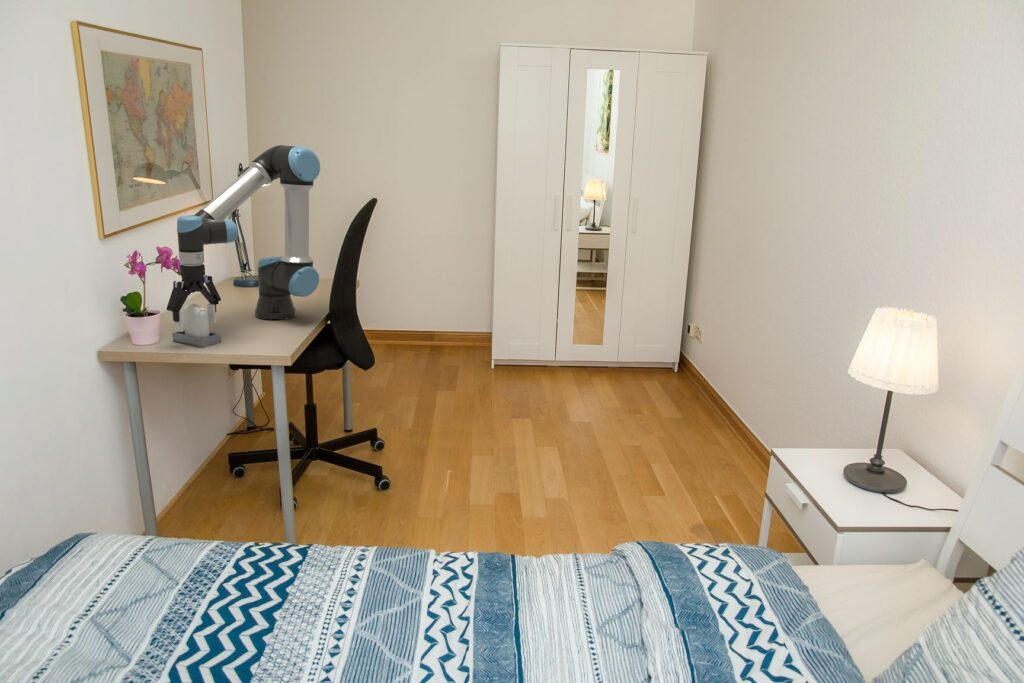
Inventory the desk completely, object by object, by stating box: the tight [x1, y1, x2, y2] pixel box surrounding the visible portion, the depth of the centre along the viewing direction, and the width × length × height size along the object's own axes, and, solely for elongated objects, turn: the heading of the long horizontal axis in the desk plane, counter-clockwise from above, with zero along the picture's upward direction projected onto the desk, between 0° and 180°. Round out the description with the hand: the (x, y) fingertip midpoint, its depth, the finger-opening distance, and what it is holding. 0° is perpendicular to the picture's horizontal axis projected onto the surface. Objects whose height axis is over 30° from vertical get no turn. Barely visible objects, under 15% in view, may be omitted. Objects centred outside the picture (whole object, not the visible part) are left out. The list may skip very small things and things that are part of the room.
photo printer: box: [182, 303, 210, 339], centre depth 245 cm, size 10×4×12 cm, turn 52°
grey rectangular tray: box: [172, 329, 222, 349], centre depth 246 cm, size 8×13×3 cm, turn 64°
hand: (196, 326), depth 245 cm, fingers open, 13 cm apart
